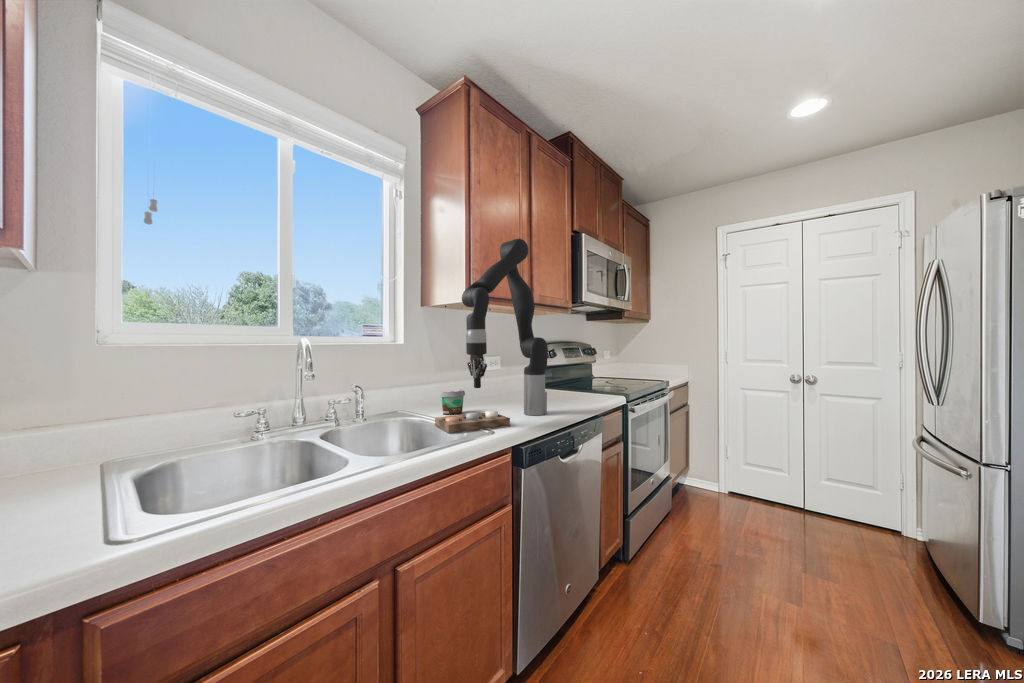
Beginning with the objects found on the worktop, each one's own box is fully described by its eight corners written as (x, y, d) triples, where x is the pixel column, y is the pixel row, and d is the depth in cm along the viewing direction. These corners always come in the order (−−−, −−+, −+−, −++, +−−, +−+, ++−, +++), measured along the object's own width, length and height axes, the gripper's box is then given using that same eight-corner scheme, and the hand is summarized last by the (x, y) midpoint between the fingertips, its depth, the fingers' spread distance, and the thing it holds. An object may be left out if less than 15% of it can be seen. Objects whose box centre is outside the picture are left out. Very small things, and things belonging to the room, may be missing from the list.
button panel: (492, 419, 154) (492, 411, 154) (509, 426, 142) (509, 418, 142) (434, 425, 142) (435, 417, 142) (448, 433, 129) (448, 424, 129)
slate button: (475, 420, 145) (475, 412, 145) (481, 422, 141) (481, 414, 141) (463, 421, 142) (463, 413, 142) (469, 423, 138) (469, 415, 138)
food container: (450, 417, 158) (450, 392, 158) (440, 415, 162) (440, 391, 162) (471, 412, 168) (471, 390, 168) (461, 411, 172) (461, 388, 172)
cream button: (494, 418, 149) (494, 410, 149) (500, 420, 145) (500, 412, 145) (483, 419, 146) (483, 411, 146) (488, 421, 142) (488, 413, 142)
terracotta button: (455, 424, 141) (455, 416, 141) (460, 426, 137) (460, 418, 137) (443, 425, 138) (443, 417, 138) (448, 428, 134) (448, 419, 134)
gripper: (493, 341, 139) (494, 389, 139) (478, 341, 150) (479, 385, 150) (474, 342, 135) (475, 391, 135) (460, 341, 146) (461, 386, 147)
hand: (477, 387), depth 143 cm, fingers closed
